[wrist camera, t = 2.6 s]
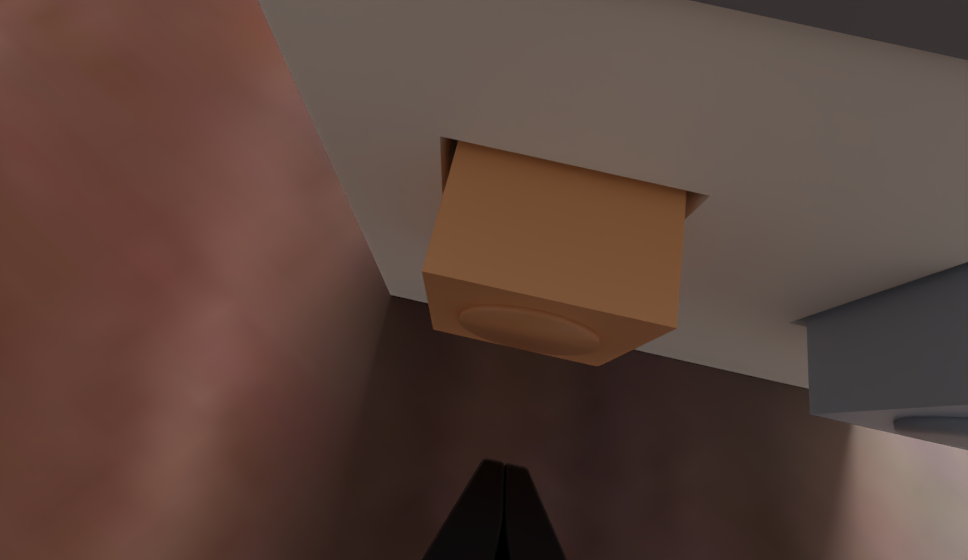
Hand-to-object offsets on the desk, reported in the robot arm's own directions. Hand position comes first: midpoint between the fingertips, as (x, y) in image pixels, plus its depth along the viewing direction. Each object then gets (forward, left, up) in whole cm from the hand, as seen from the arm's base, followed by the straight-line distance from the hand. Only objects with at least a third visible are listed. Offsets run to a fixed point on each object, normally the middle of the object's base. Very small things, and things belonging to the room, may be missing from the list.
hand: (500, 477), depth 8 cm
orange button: (+2, -4, -2) cm, 5 cm away
